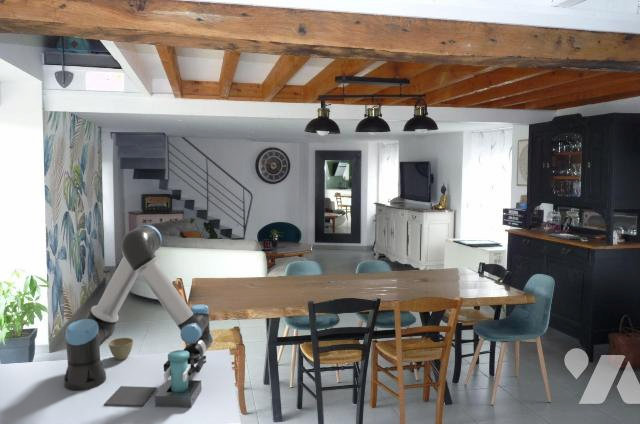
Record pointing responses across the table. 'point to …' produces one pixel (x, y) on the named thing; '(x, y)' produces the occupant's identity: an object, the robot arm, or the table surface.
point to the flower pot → (121, 347)
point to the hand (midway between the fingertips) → (174, 377)
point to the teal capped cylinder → (178, 370)
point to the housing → (178, 395)
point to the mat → (130, 396)
